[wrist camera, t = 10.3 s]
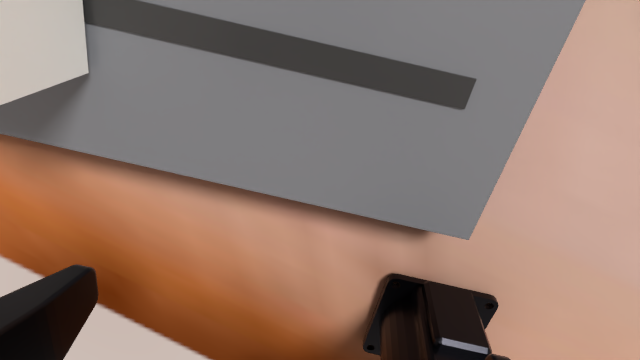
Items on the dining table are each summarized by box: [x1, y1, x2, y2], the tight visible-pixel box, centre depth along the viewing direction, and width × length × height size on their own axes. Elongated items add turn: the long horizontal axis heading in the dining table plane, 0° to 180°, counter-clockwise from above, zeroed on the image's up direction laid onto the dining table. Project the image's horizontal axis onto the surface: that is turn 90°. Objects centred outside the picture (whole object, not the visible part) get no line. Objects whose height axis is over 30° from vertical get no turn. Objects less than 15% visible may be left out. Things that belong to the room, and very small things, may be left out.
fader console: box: [0, 0, 585, 240], centre depth 16 cm, size 13×25×3 cm, turn 78°
